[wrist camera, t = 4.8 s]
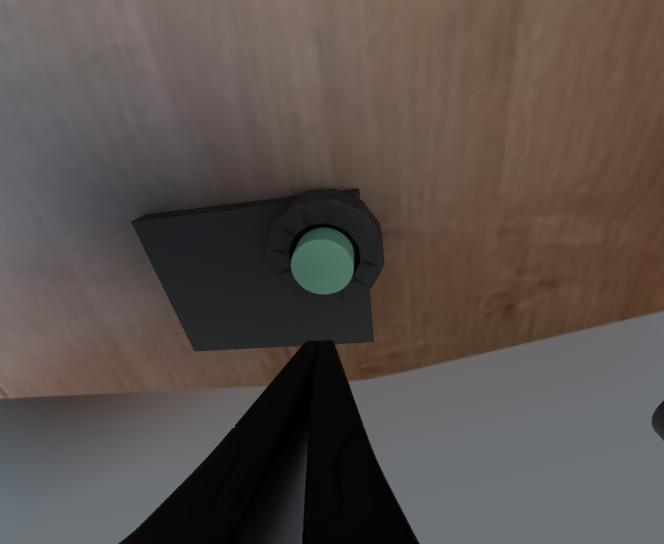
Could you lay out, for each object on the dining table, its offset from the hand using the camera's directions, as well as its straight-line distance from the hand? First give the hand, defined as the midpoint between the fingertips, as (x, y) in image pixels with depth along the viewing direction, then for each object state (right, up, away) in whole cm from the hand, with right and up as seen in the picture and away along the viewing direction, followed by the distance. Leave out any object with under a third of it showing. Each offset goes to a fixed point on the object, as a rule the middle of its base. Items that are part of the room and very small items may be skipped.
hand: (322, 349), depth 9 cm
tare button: (0, +3, +6) cm, 7 cm away
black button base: (-4, +2, +10) cm, 11 cm away
